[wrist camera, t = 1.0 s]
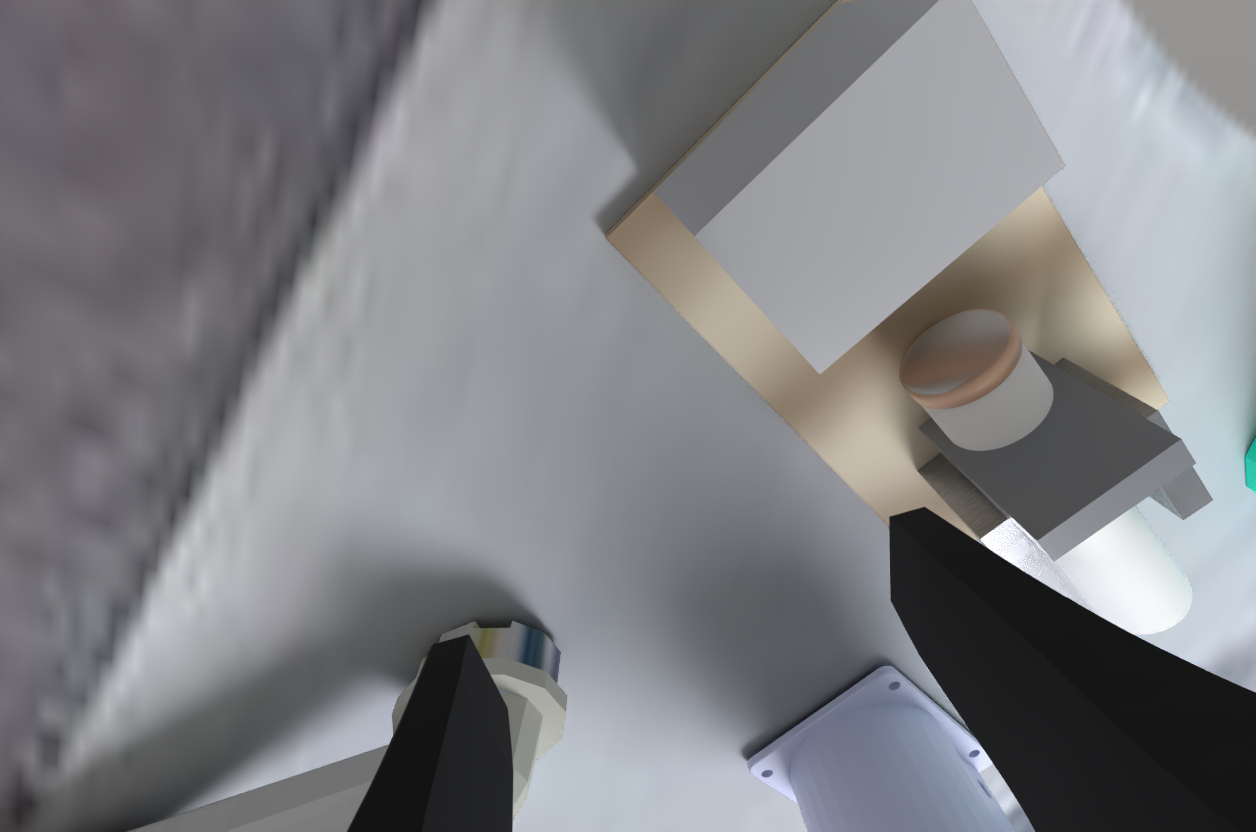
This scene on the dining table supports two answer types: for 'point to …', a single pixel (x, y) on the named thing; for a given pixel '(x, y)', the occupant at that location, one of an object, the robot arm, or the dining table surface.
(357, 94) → the dining table surface
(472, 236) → the dining table surface
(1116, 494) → the tube
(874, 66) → the socket
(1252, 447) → the candle
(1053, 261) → the board
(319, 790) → the grey capped rod
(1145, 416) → the grey parallel plates
